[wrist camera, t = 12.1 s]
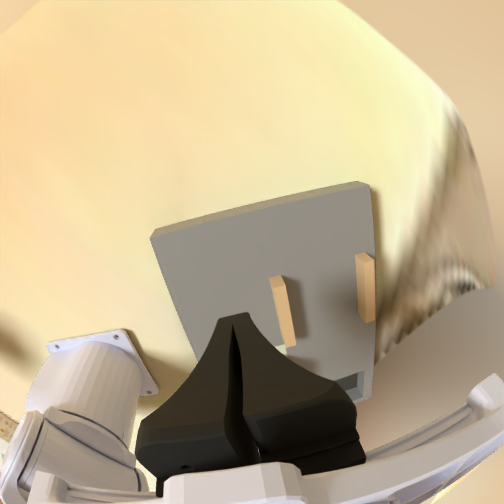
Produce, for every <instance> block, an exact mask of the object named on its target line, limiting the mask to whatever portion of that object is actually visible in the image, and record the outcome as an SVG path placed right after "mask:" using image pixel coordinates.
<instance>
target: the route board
mask: <svg viewBox="0 0 504 504" xmlns="http://www.w3.org/2000/svg"><path fill="white" fill-rule="evenodd" d="M150 241H151V244H152V247H153V249H154V252H155V255H156V258H157V261H158V264H159V266H160V269H161V272H162V275H163V277H164V280H165V283H166V285H167V288H168V291H169V293H170V296H171V298H172V301H173V303H174V306H175V308H176V311H177V313H178V316H179V318H180V321H181V323H182V325H183V328H184V330H185V333H186V335H187V337H188V340H189V342H190V344H191V346H192V349H193V351H194V353H195V355H196V358H197V360H198V362H199V360H200V358H201V357H202V355H203V353H204V351H205V349H206V347H207V345H208V343H209V341H210V339H211V336H212V334H213V331H214V329H215V326H216V323H217V321H218V319H219V318H222V317H227V316H231V315H235V314H239V313H243V312H248V313H249V314H250V317H251V319H252V321H253V322H254V324H255V325H256V327H257V328H258V329H259V331H260V332H261V333H262V334H263V336H264V337H265V338H266V339H267V340H268V341H269V342H270V343H271V344H272V345H273V346H274V347H275V348H276V349H277V350H279V351H280V352H281V353H282V354H283V355H285V356H286V357H287V358H289V359H290V360H292V361H293V362H295V363H296V364H298V365H300V366H301V367H303V368H305V369H307V370H308V371H310V372H312V373H315V374H317V375H319V376H321V377H324V378H327V379H330V380H333V381H336V382H337V383H338V384H339V385H340V386H341V387H342V388H343V389H344V391H345V392H346V393H347V394H348V395H349V397H350V398H351V400H352V401H353V403H354V404H356V403H358V402H361V401H364V400H366V399H369V398H371V391H372V382H373V370H374V355H375V335H376V261H375V240H374V225H373V213H372V202H371V192H370V185H368V184H365V183H362V182H359V181H354V182H349V183H344V184H339V185H334V186H330V187H325V188H320V189H315V190H311V191H306V192H301V193H297V194H292V195H288V196H283V197H279V198H275V199H270V200H266V201H262V202H258V203H254V204H249V205H245V206H241V207H237V208H233V209H229V210H225V211H221V212H217V213H213V214H209V215H206V216H202V217H198V218H194V219H190V220H187V221H183V222H179V223H176V224H172V225H168V226H165V227H161V228H158V229H155V230H154V232H153V234H152V235H151V237H150Z"/></svg>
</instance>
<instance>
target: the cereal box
mask: <svg viewBox="0 0 504 504" xmlns="http://www.w3.org/2000/svg"><path fill="white" fill-rule="evenodd" d="M18 425H19V424H17V423H16V422H14V421H13V420H11V419H10V418H8V417H7V416H5V415H4V414H3V413H1V412H0V469H1V465H2V461H3V458H4V455H5V453H6V450H7V448H8V445H9V443H10V441H11V439H12V436H13V434H14V432H15V430H16V428H17V426H18Z"/></svg>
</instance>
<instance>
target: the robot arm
mask: <svg viewBox="0 0 504 504" xmlns="http://www.w3.org/2000/svg"><path fill="white" fill-rule="evenodd" d="M115 335H117V336H119V337H116V336H115ZM57 345H58V346H57ZM46 347H47V349H48V351H49V352H50V354H49V356H48V357H47V359H46V361H45V362H44V364H43V366H42V368H41V369H40V371H39V373H38V375H37V376H36V378H35V380H34V382H33V384H32V385H31V387H30V389H29V392H28V394H27V400H26V409H27V412H26V413H25V415H24V416H23V418H22V419H21V421H20V423H19V425H18V426H17V428H16V430H15V432H14V434H13V436H12V439H11V441H10V443H9V445H8V448H7V450H6V453H5V455H4V458H3V461H2V465H1V470H0V498H1V500H2V502H3V504H420V503H422V502H423V501H425V500H427V499H429V498H430V497H432V496H434V495H435V494H437V493H438V492H440V491H441V490H443V489H445V488H446V487H448V486H449V485H451V484H452V483H453V482H455V481H456V480H458V479H459V478H461V477H462V476H463V475H465V474H466V473H468V472H469V471H470V470H472V469H473V468H474V467H476V466H477V465H478V464H480V463H481V462H482V461H483V460H485V459H486V458H487V457H489V456H490V455H491V454H492V453H494V452H495V451H496V450H497V449H498V448H500V447H501V446H502V445H503V444H504V382H503V381H502V380H501V379H500V377H498V375H497V374H496V373H492V374H491V375H490V376H488V377H487V378H486V379H484V380H483V381H481V382H480V383H478V384H477V385H476V386H475V387H474V388H473V389H472V390H471V391H470V393H469V395H468V398H467V401H466V402H464V403H463V404H461V405H460V406H458V407H456V408H455V409H453V410H452V411H450V412H448V413H446V414H445V415H443V416H441V417H440V418H438V419H436V420H434V421H432V422H431V423H429V424H427V425H425V426H423V427H421V428H419V429H417V430H415V431H413V432H411V433H410V434H407V435H405V436H403V437H401V438H399V439H397V440H395V441H392V442H390V443H388V444H386V445H383V446H381V447H379V448H376V449H374V450H372V451H369V452H366V453H364V450H363V448H362V446H361V444H360V442H359V434H358V432H357V430H356V418H357V411H356V407H355V405H354V403H353V401H352V400H351V398H350V397H349V395H348V394H347V393H346V392H345V391H344V389H343V388H342V387H341V386H340V385H339V384H338V383H337V382H336V381H333V380H330V379H327V378H324V377H321V376H319V375H317V374H315V373H312V372H310V371H308V370H307V369H305V368H303V367H301V366H300V365H298V364H296V363H295V362H293V361H292V360H290V359H289V358H287V357H286V356H285V355H283V354H282V353H281V352H280V351H279V350H277V349H276V348H275V347H274V346H273V345H272V344H271V343H270V342H269V341H268V340H267V339H266V338H265V337H264V336H263V334H262V333H261V332H260V331H259V329H258V328H257V327H256V325H255V324H254V322H253V321H252V319H251V317H250V314H249V313H248V312H243V313H239V314H235V315H231V316H227V317H222V318H219V319H218V321H217V323H216V326H215V329H214V331H213V334H212V336H211V339H210V341H209V343H208V345H207V347H206V349H205V351H204V353H203V355H202V357H201V358H200V360H199V362H198V364H197V365H196V367H195V368H194V370H193V371H192V373H191V374H190V376H189V377H188V378H187V380H186V381H185V382H184V383H183V384H182V386H181V387H180V388H179V389H178V390H177V391H176V392H175V393H174V394H173V395H172V396H171V397H170V398H169V399H168V400H167V401H166V402H165V403H164V404H163V405H162V406H160V407H159V408H158V409H157V410H155V411H154V412H153V413H151V414H150V415H149V416H147V417H146V418H144V419H143V420H142V421H141V423H140V427H139V430H138V435H137V440H136V447H135V455H134V454H132V453H131V452H129V448H130V442H131V437H132V431H133V426H134V420H135V415H136V410H137V405H138V400H139V397H141V396H150V395H157V394H158V393H159V388H158V387H157V385H156V384H155V382H154V380H153V379H152V377H151V375H150V374H149V372H148V370H147V368H146V367H145V365H144V363H143V362H142V360H141V358H140V356H139V354H138V353H137V351H136V349H135V347H134V345H133V343H132V342H131V340H130V338H129V336H128V334H127V332H126V331H125V330H122V329H119V330H114V331H108V332H103V333H98V334H92V335H86V336H81V337H75V338H69V339H63V340H57V341H50V342H48V343H47V345H46ZM258 449H259V452H258ZM259 454H260V456H259ZM136 459H137V460H138V461H139V462H140V463H141V464H142V465H143V466H144V467H145V468H146V469H147V470H148V471H149V472H151V473H152V474H153V475H154V476H155V477H156V478H157V482H156V492H149V487H148V483H147V480H146V477H145V475H144V473H143V472H142V471H141V470H139V469H138V468H135V465H136Z"/></svg>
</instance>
